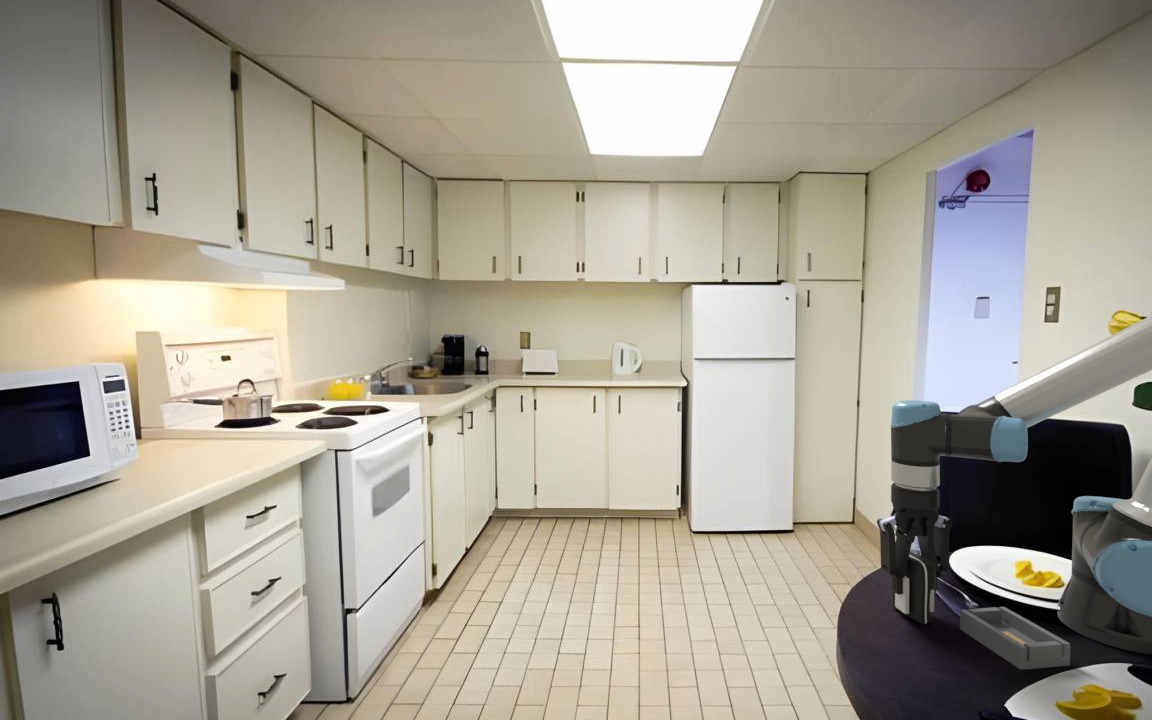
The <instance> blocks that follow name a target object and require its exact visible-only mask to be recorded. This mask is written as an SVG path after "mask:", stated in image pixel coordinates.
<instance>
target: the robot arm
mask: <svg viewBox="0 0 1152 720" xmlns="http://www.w3.org/2000/svg"><path fill="white" fill-rule="evenodd" d="M1151 371H1152V310H1151V311H1150V315H1149V316H1147V317H1145V318H1144V319H1141V320H1139V321H1137V322H1135V323H1133V324H1131V325H1130V326H1127V327H1126V328H1123V329H1122V330H1119V331H1118V332H1115V333H1114V334H1112V335H1110V336H1108V337H1106V338H1104V339H1102V340H1101V341H1099V342H1095V343H1094V344H1092V345H1090V346H1089V347H1087V348H1085V349H1082V350H1081V351H1079V352H1076V353H1074V354H1073V355H1071V356H1069V357H1066V358H1065V359H1063V360H1061V361H1059V362H1057V363H1054V364H1053V365H1051V366H1049V367H1047V368H1045V369H1043V370H1041V371H1039V372H1038V373H1035V374H1034V375H1032V376H1030V377H1028V378H1026V379H1023V380H1021V381H1020V382H1018V383H1016V384H1014V385H1012V386H1010V387H1008V388H1005V389H1004V390H1003V391H1001V392H998V393H996V394H995V395H993V396H991V397H989V398H987V399H985V400H982V401H980V402H979V403H977V404H976V403H975V404H971V405H967V406H966V407H964V408H963V409H961V410H960V411H959V413H958V414H951V413H942V411H941V407H940V405H939V403H937V402H934V401H928V400H927V401H925V400H899V401H896V402H894V404H893V405H892V407H891V419H890V420H891V421H890V453H891V455H890V456H891V461H890V462H891V463H890V464H891V466H890V467H891V468H890V469H891V471H890V474H891V475H890V478H891V479H890V480H891V481H892V482H893V483H891V485H890V501H891V504H892V511H891V513H890V516H889V517H887V518H885V519H882V518H878V519H877V520H876V524H877V527H878V529H879V536H880V542H879V543H880V546H879V547H880V569H881V570H883V571H884V572H885V573H887V574H888V575H890V576H891V590H892V592H893V591H894V592H895V607H896V608H898V609H899V610H901V611H902V612H903V613H905V614H909V578H907V577H906V576H905V574H906V569H907V564H908V559H909V554H910V552H911V549H912V544H913V543H915V541H916V539H917V542H918V547H919V552H920V556H922V557H924V558H926V559H928V560H930V561H931V562H932V563H933V565H934V567H935V574H936V589H934V590H931V593H930V601H929V610H930V613H934V612H935V593H936V592H937V591H938V578H939V579H940V578H942V577H943V572H944V573H947V572H948V571H949V565H950V564H949V561H950V559H949V558H950V556H949V555H950V531H951V529H952V527H953V524H954V523H953V521H954V520H953V519H951V518H949V517H946V516H945V515H944V516H943V515H942V514H939V512H938V510H939V508H940V490H939V488H938V487H939V486H940V485H941V484H940V483H941V482H940V481H941V479H940V476H941V475H940V473H941V472H940V471H941V470H940V469H941V468H940V466H941V465H940V456H942V457H953V458H965V459H973V460H986V461H992V462H993V461H994V462H997V463H1002V462H1006V463H1007V462H1009V463H1010V462H1011V463H1021V462H1023V461H1025V460H1026V458H1027V456H1028V449H1029V447H1028V446H1029V439H1028V438H1029V434H1028V428H1030V427H1033V426H1034V425H1037V424H1038V423H1040V422H1042V421H1043V422H1044V421H1045V420H1047V419H1049V418H1051V417H1053V416H1056V415H1058V414H1060V413H1063V412H1064V411H1067V410H1069V409H1070V408H1072V407H1076V406H1077V405H1080V404H1083V403H1084V402H1086V401H1088V400H1090V399H1092V398H1094V397H1097V396H1099V395H1101V394H1103V393H1105V392H1107V391H1110V390H1112V389H1114V388H1116V387H1118V386H1121V385H1122V384H1125V383H1127V382H1129V381H1131V380H1133V379H1134V380H1135V378H1138V377H1140V376H1142V375H1144V374H1147V373H1148V372H1151ZM1072 507H1073V508H1072V510H1071V514H1072V539H1071V540H1072V541H1071V542H1072V546H1071V548H1072V549H1071V576H1070V578H1069V581H1068V583H1067V585H1066V587H1065V588H1064V590H1063V593H1062V594H1061V597H1060V599H1058V602H1057V607H1058V606H1059V607H1060V611H1058V610H1057V618H1058V619H1059V621H1060V622H1061V623H1062V624H1064V625H1065V626H1066V627H1068V628H1069V629H1071V630H1072V631H1074V632H1076V633H1078V634H1080V635H1082V636H1084V637H1086V638H1089V639H1091V640H1093V641H1096V642H1098V643H1101V644H1103V645H1104V644H1105V645H1107V646H1110V647H1114V648H1117V649H1120V650H1124V651H1129V652H1134V653H1139V654H1143V655H1144V654H1145V655H1152V457H1151V459H1150V460H1149V462H1148V464H1147V467H1146V468H1145V470H1144V472H1143V474H1142V476H1141V478H1140V481H1139V483H1138V485H1137V486H1136V489H1135V491H1134V493H1133V494H1132V496H1131V498H1129V499H1123V498H1115V497H1105V496H1097V495H1096V496H1095V495H1094V496H1093V495H1092V496H1091V495H1083V496H1078V497H1076V498H1075V499H1074V500H1073V506H1072ZM895 526H896V527H895ZM903 613H902V614H903ZM905 614H904V615H905Z"/></svg>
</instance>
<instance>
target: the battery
mask: <svg viewBox="0 0 1152 720" xmlns="http://www.w3.org/2000/svg"><path fill="white" fill-rule="evenodd" d="M905 576H906V577H907V578H909V614H905V613H903V612H902V611H901V610H899V609H898V608H896V607H895V592H894V591H893V590H892V608H894V609H895V610H897V611H898V612H900V613H901V614H903V615H905V616H906V617H908V618H910V619H911V620H913V621H915V622H917V623H919V624H922V625H926V624H929V623H932V621H933V616H932V614H931V612H930V610H929V601H930V593H931V590H934V589H936V574H935V567H934V565H933V563H932V562H931V561H930V560H928V559H926V558H924V557H922V556H921V554H917V553H916V552H913V551H910V554H909V559H908V564H907V569H906V574H905Z"/></svg>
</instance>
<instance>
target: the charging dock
mask: <svg viewBox="0 0 1152 720" xmlns="http://www.w3.org/2000/svg"><path fill="white" fill-rule="evenodd" d="M959 630H961V631H962V633H963V632H964V634H967V636H969V637H971V638H972V639H974V640H976V641H977V642H978V643H980V645H981V644H982V645H983V646H984V647H985V648H988V649H989V650H991V652H993V653H995V654H997V655H998V657H999V656H1000V657H1001V658H1002V659H1003V660H1005V661H1007V662H1008V663H1010V664H1011V665H1013V666H1014V667H1016V668H1017V669H1019V670H1021V671H1023V670H1032V669H1033V670H1034V669H1043V668H1057V667H1068V666H1071V643H1070V642H1068V641H1066V640H1065V639H1063V638H1061V637H1059V636H1058V635H1056V634H1054V633H1052V632H1050V631H1048V630H1046V629H1045V628H1043V627H1041V626H1039V625H1037V624H1036V623H1035V622H1032V621H1031V620H1029V619H1027V618H1025V617H1023V616H1022V615H1020V614H1018V613H1016V612H1014V611H1012V610H1011V609H1009V608H1007V606H1006V607H1005V606H999V607H996V606H993V607H982V608H968V609H960V612H959Z"/></svg>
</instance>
